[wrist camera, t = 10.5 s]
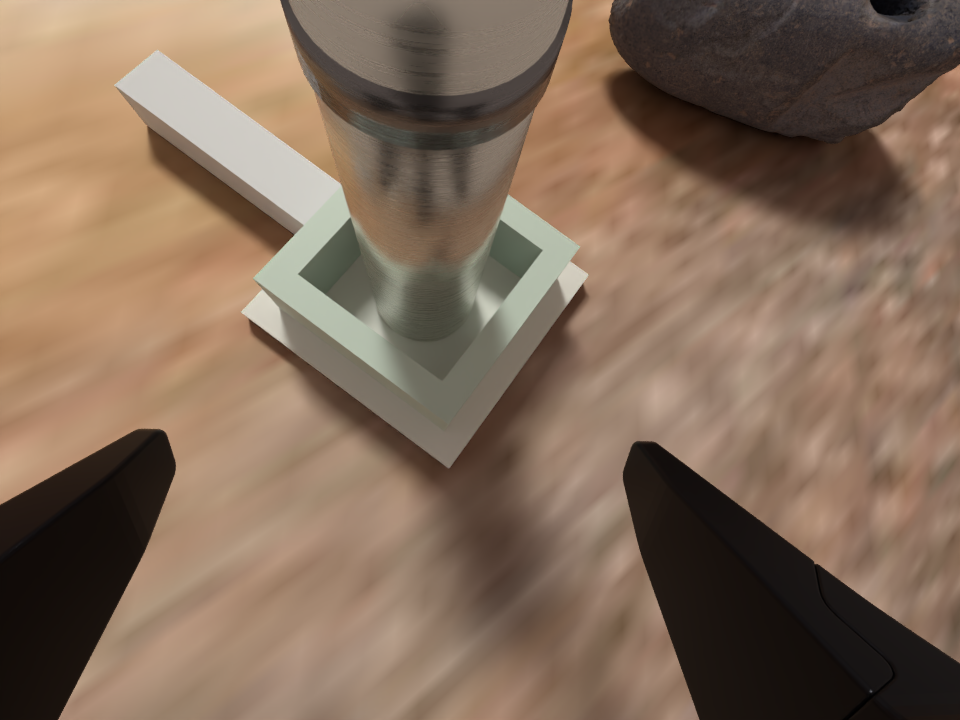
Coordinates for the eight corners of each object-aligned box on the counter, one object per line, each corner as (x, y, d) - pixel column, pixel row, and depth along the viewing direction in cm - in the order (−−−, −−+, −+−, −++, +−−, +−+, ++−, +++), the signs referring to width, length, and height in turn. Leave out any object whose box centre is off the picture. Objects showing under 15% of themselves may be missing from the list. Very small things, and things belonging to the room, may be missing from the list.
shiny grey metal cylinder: (495, 309, 20) (661, -40, 6) (408, 363, 19) (372, 93, 5) (440, 228, 20) (477, -265, 7) (352, 277, 19) (182, -177, 6)
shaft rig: (666, 165, 23) (713, 108, 19) (448, 468, 19) (454, 468, 15) (354, -56, 24) (342, -152, 20) (73, 187, 19) (-8, 122, 16)
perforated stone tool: (580, 96, 24) (644, -53, 17) (600, 14, 25) (667, -154, 18) (858, 184, 24) (1026, 77, 18) (864, 101, 26) (1022, -28, 19)
